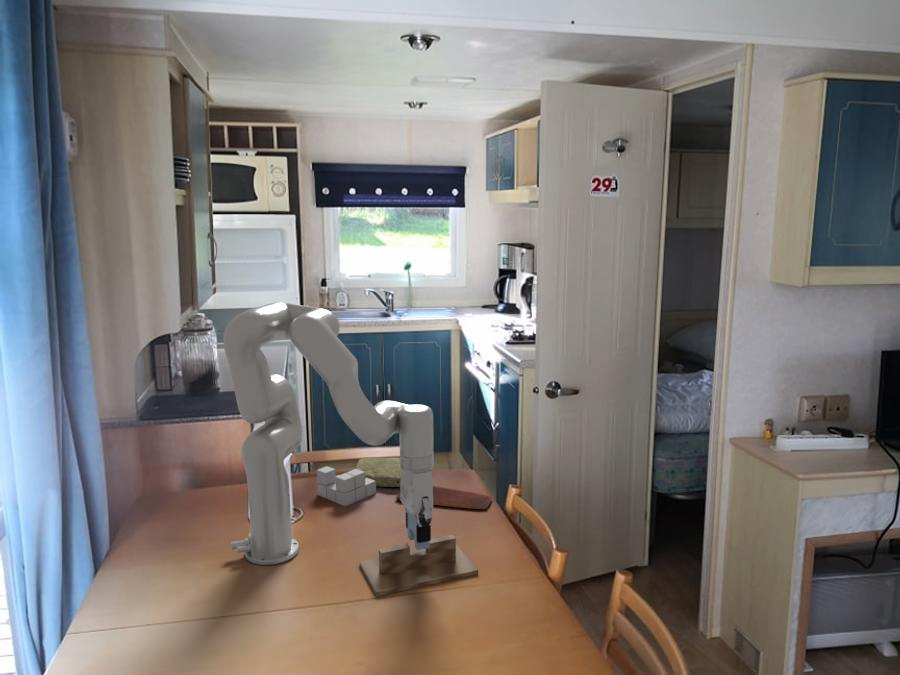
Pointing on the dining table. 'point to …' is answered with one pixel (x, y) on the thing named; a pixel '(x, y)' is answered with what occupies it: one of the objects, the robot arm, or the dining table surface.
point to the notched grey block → (412, 530)
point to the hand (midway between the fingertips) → (418, 533)
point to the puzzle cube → (344, 485)
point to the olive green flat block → (381, 470)
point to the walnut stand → (416, 566)
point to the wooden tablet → (458, 498)
